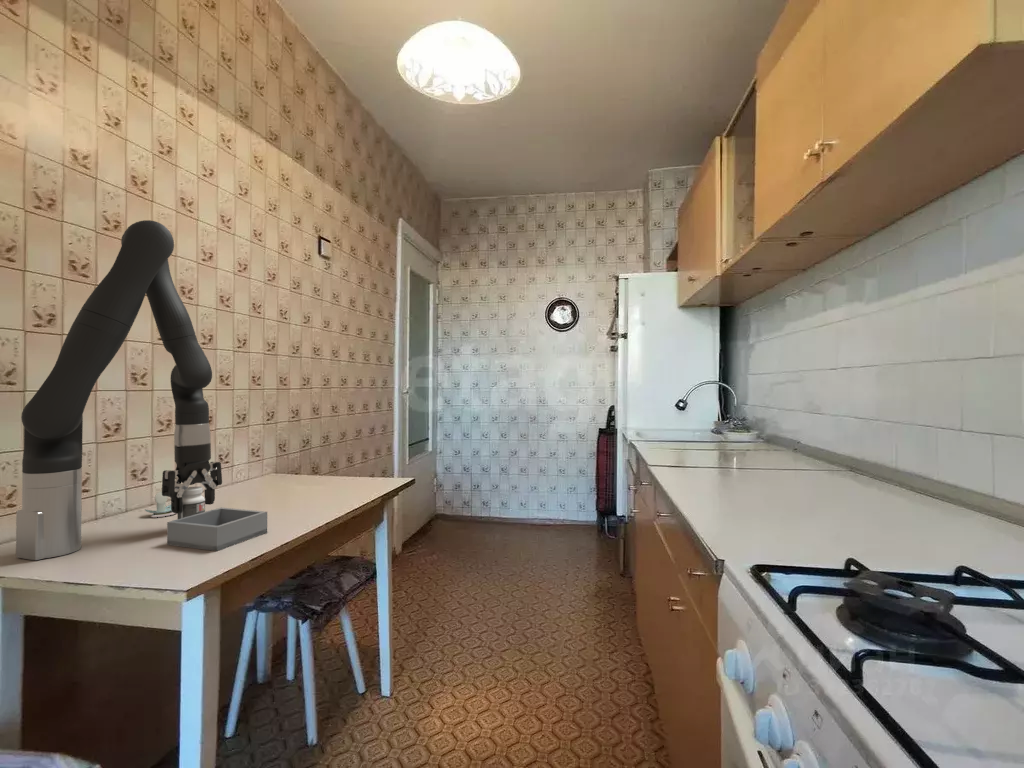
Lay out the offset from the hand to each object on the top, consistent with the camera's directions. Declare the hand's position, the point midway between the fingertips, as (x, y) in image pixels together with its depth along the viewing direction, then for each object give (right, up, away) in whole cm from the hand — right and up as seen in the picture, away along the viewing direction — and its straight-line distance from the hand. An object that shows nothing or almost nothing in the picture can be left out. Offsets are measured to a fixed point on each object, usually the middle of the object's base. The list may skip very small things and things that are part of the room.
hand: (193, 508), depth 122 cm
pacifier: (-17, -5, +13) cm, 22 cm away
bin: (+11, -5, -8) cm, 14 cm away
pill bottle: (-1, -5, 0) cm, 5 cm away
